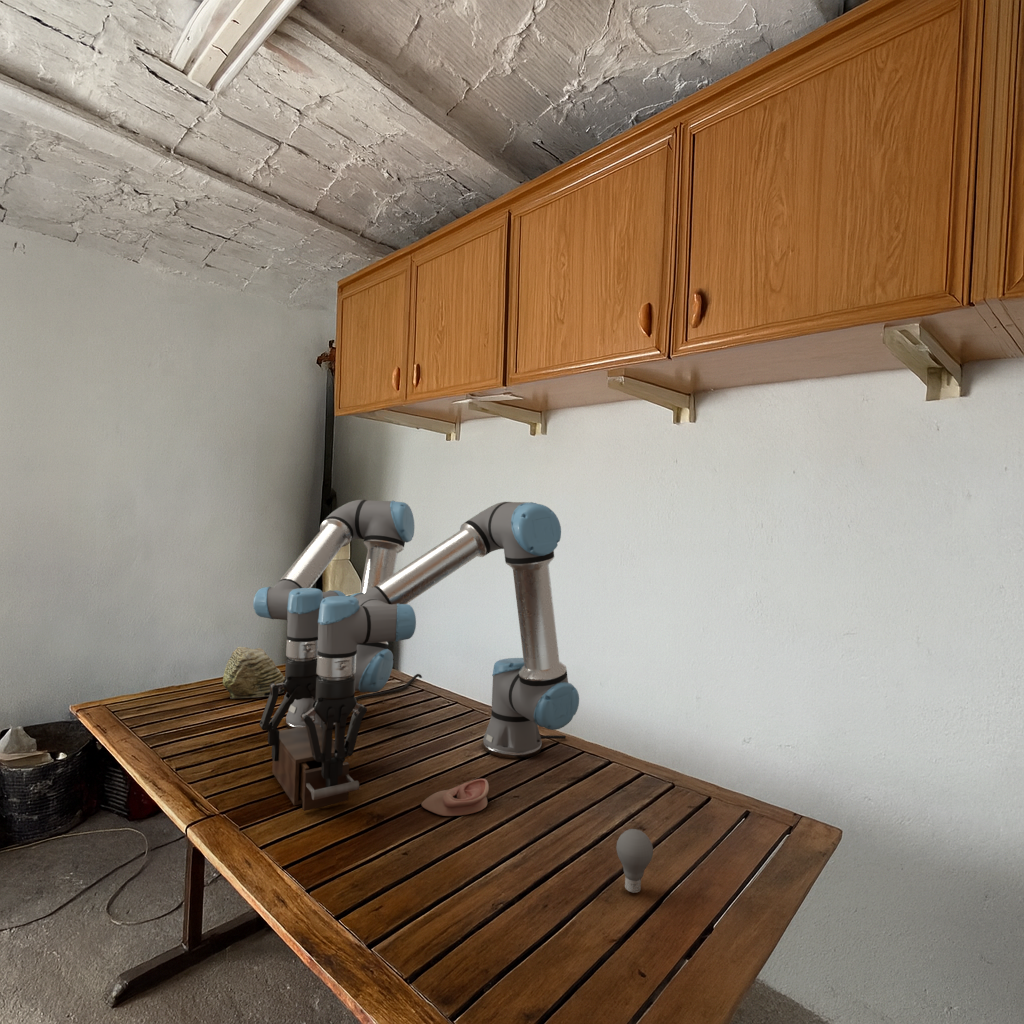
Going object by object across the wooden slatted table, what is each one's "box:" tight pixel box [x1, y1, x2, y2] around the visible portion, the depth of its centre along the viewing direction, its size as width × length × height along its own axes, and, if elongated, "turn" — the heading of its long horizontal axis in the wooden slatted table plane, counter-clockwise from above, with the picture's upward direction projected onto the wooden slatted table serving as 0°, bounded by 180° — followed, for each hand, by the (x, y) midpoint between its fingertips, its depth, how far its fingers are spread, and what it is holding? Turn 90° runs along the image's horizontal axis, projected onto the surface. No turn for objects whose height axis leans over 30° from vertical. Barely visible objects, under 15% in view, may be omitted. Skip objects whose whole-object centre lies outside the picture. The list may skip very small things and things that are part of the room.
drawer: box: [298, 756, 360, 812], centre depth 133 cm, size 22×9×8 cm, turn 34°
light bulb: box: [615, 828, 654, 894], centre depth 106 cm, size 6×6×10 cm
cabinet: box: [271, 724, 345, 806], centre depth 140 cm, size 18×10×10 cm, turn 34°
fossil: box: [222, 646, 286, 699], centre depth 198 cm, size 9×18×15 cm, turn 132°
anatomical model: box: [421, 778, 490, 817], centre depth 133 cm, size 13×4×12 cm
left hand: (299, 754), depth 144 cm, fingers closed on cabinet, 10 cm apart
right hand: (331, 792), depth 126 cm, fingers closed
